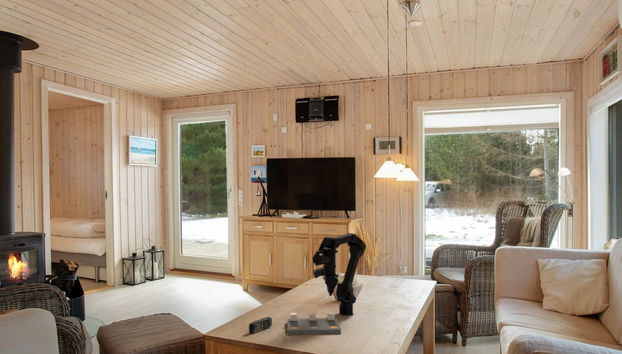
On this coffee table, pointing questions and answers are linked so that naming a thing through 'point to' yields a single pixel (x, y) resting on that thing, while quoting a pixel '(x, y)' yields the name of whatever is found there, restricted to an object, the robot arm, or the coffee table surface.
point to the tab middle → (312, 316)
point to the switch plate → (313, 326)
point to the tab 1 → (293, 316)
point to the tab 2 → (330, 315)
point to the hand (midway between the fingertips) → (329, 294)
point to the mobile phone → (260, 325)
